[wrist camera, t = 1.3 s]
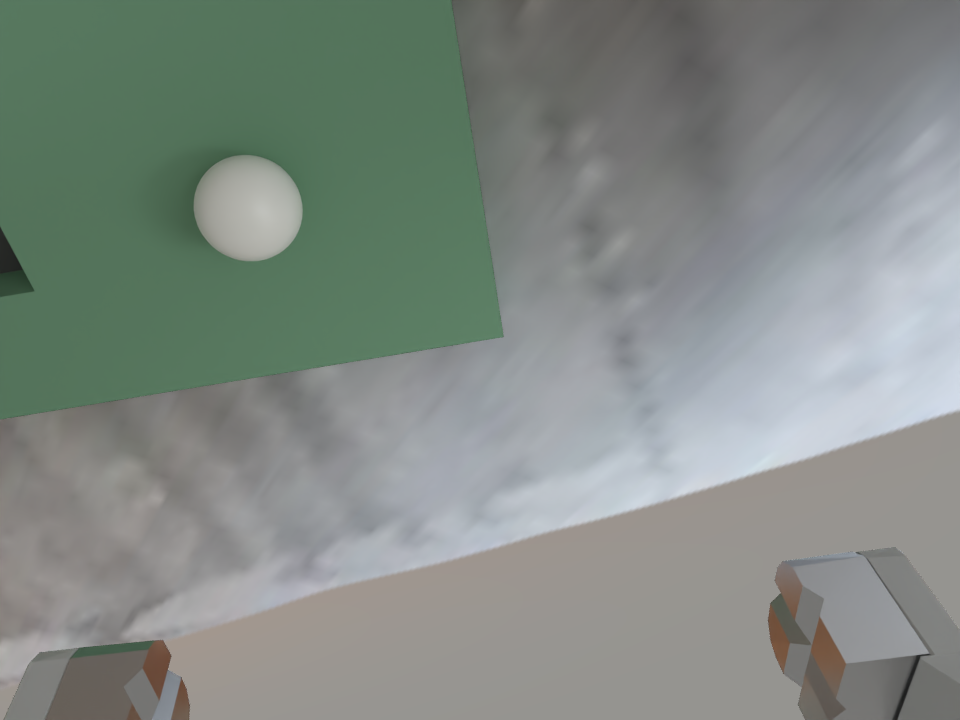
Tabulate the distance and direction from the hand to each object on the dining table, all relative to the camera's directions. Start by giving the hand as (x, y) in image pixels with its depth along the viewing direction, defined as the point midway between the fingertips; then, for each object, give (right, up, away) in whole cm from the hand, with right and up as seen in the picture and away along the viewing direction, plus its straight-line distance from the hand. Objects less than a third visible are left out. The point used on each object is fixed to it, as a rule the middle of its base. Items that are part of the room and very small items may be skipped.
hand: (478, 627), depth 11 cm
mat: (-14, +10, +20) cm, 27 cm away
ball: (-8, +9, +17) cm, 20 cm away
